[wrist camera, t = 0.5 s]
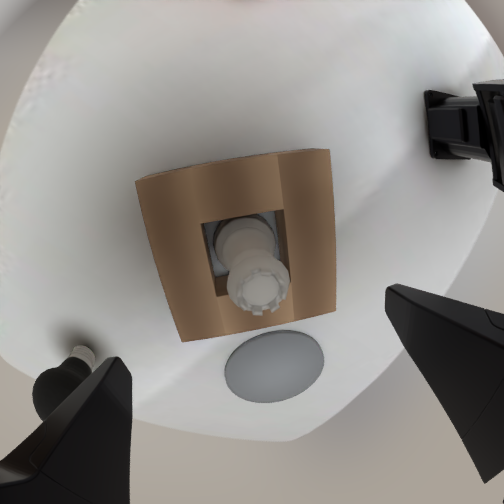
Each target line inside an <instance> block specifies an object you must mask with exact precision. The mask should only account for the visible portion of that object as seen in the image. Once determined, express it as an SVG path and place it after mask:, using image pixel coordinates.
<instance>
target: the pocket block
mask: <svg viewBox="0 0 504 504" xmlns="http://www.w3.org/2000/svg"><path fill="white" fill-rule="evenodd" d="M135 184H136V189H137V193H138V198H139V202H140V206H141V211H142V215H143V219H144V223H145V227H146V231H147V235H148V238H149V242H150V246H151V249H152V253H153V256H154V260H155V263H156V267H157V270H158V273H159V277H160V280H161V283H162V286H163V289H164V292H165V296H166V299H167V302H168V305H169V308H170V310H171V313H172V316H173V319H174V322H175V325H176V328H177V330H178V333H179V336H180V338H181V341H182V342H188V341H195V340H201V339H207V338H213V337H219V336H225V335H230V334H236V333H241V332H246V331H251V330H256V329H261V328H266V327H271V326H276V325H280V324H285V323H289V322H293V321H298V320H302V319H306V318H310V317H314V316H318V315H322V314H326V313H330V312H334V311H336V237H335V214H334V197H333V183H332V171H331V160H330V150H329V149H314V148H312V149H302V150H292V151H283V152H275V153H267V154H259V155H252V156H245V157H239V158H233V159H227V160H221V161H215V162H210V163H204V164H199V165H194V166H189V167H184V168H179V169H175V170H170V171H166V172H161V173H157V174H153V175H149V176H145V177H143V178H141V179H139V180H137V181H135ZM269 211H275V217H276V225H277V234H278V242H279V251H280V260H281V262H282V263H283V265H284V266H285V267H286V269H287V270H288V273H289V278H290V284H289V288H288V292H287V296H286V300H284V299H282V300H281V302H279V303H278V304H279V306H280V308H279V309H277V310H276V311H274V312H273V313H272V312H271V310H270V309H266V310H262V314H263V316H260V315H253V314H252V311H247V310H245V311H244V310H243V309H242V308H241V307H238V306H237V305H236V304H235V303H234V302H233V301H232V300H231V299H230V297H229V294H228V291H227V281H228V276H229V275H226V276H220V277H215V273H214V269H213V264H212V260H211V255H210V251H209V246H208V241H207V236H206V231H205V227H204V223H207V222H213V221H218V220H223V219H229V218H234V217H240V216H245V215H251V214H257V213H263V212H269Z"/></svg>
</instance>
